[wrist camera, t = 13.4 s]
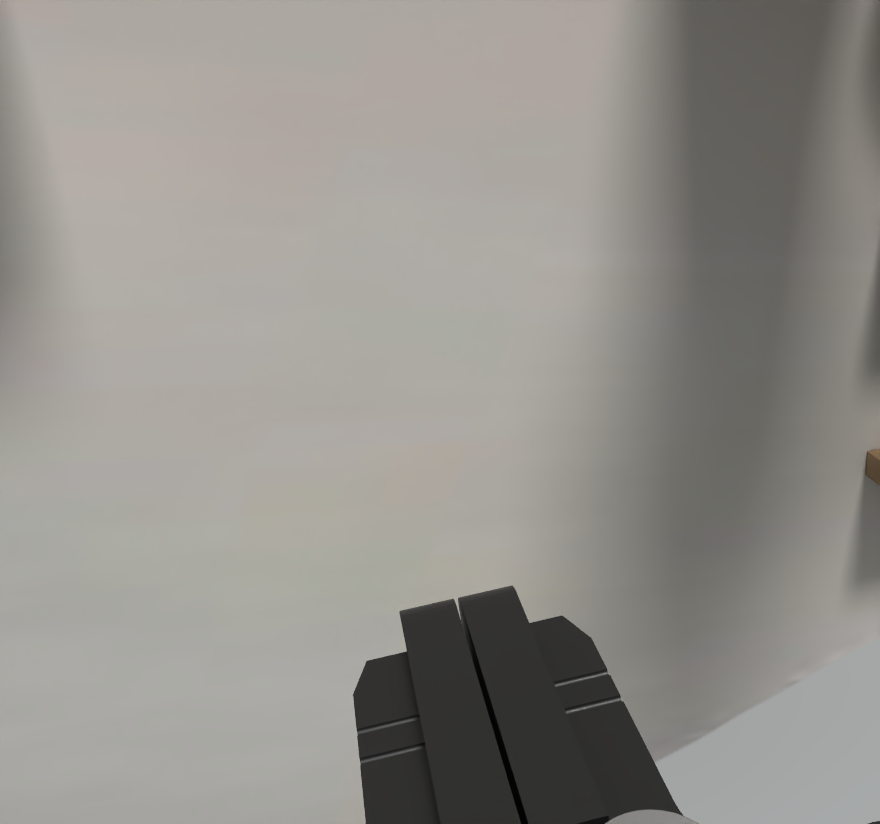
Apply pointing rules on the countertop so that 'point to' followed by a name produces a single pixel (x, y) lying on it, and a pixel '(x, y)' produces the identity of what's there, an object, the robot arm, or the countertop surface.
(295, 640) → the countertop surface
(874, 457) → the organizer
